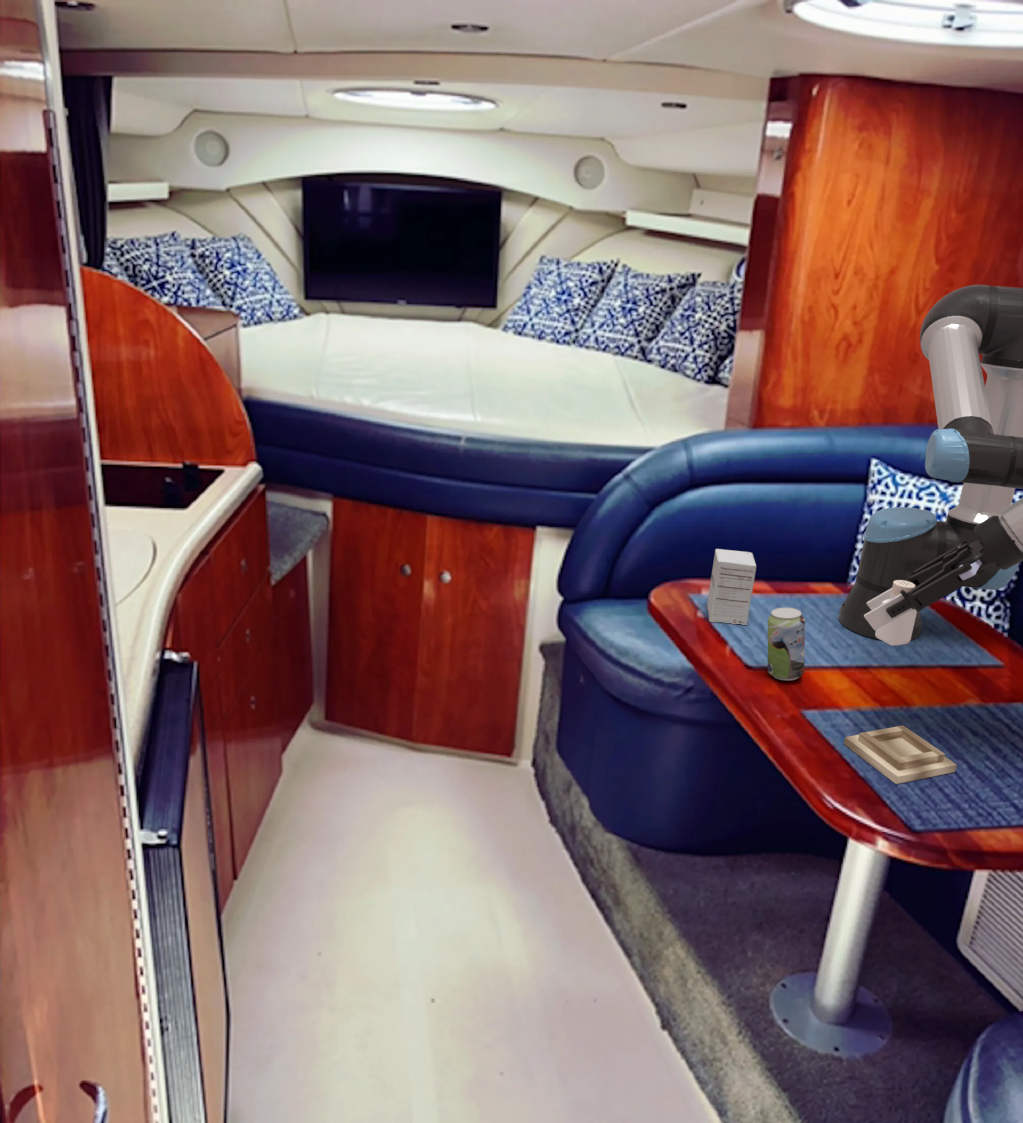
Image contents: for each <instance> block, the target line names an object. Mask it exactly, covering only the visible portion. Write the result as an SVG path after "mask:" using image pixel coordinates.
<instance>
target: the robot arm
mask: <svg viewBox="0 0 1023 1123" xmlns="http://www.w3.org/2000/svg"><path fill="white" fill-rule="evenodd" d="M919 342H920V350H921V351H922V354H923V356H924V357H925V358H926V359H927V360H928V362H929V367H930V368H929V369H930V376H931V382H932V384H931V385H932V392H933V398H934V405H935V413H936V419H937V420H936V421H937V426H938V427H937V429H935V430H934V431H933V432H932V433H931V435H930V437H929V438H928V442H927V445H926V451H925V462H924V468H925V472H926V474H927V475H928V476H929V477H931V478H933V479H938V480H944V481H949V482H951V483H963V485H962V488H961V494H960V497H959V501H958V504H957V505H956V506H955V507H953V508H951V509H950V510H948V512H947V515H946V520H945V521H940V520H938V519H937V515H936V514H935V513H934V512H932V511H930V510H926V509H920V508H917V507H907V506H905V507H904V506H903V507H902V506H898V507H897V506H896V507H888V508H883V509H880V510H877V511H875V512H873V514H871V516H870V517H869V520H868V522H867V526H866V529H865V531H864V534H863V544H862V548H861V553H860V558H859V563H858V567H857V573H856V577H855V581H854V583H853V586H852V588H851V589H850V591H849V592H848V594H847V596H846V598H845V601H843V602H842V604H841V606H840V608H839V613H838V621H839V623H840V624H841V625H842V626H844V627H845V628H847V629H848V630H850V631H852V632H854V633H856V634H858V635H861V636H864V637H868V638H871V639H875V640H879V641H881V640H880V639H878V638H877V637H876V636H875V632H876V630H877V629H878V628H880V627H882V626H884V625H886V624H887V623H889V622H891V621H893V620H894V619H896V618H898V617H900V616H902V615H903V614H905V613H907V612H909V611H911V610H912V609H913V610H914V609H915V610H916V611H917V614H916V618H915V623H914V627H913V631H912V636H911V640H910V641H912V640H915V639H917V638H918V637H919V636H920V634H921V629H922V625H923V624H922V622H923V621H922V618H921V611H922V610H924V609H925V608H928V607H929V606H930V605H932V604H935V603H936V602H938V601H940V600H942V599H943V598H945V597H946V596H948V595H950V594H952V593H954V592H956V591H958V590H959V589H961V588H963V587H964V588H971V589H973V590H991V591H992V590H993V591H995V590H996V591H997V590H999V589H1003V587H1005V586H1006V585H1007V584H1008V583H1009V582H1011V580H1012V578H1013V576H1014V575H1015V573H1016V572H1017V569H1018V567H1019V565H1020V563H1021V562H1023V497H1021V498H1020V499H1019V500H1016V501H1015V502H1014V503H1013V499H1014V495H1015V490H1016V489H1018V490H1019V489H1020V490H1023V287H1013V286H1009V287H1008V286H1001V285H1000V286H999V285H989V284H988V285H987V284H972V285H966V286H962V287H961V288H957V289H954V290H952V291H951V292H949V293H947V294H946V295H944V296H943V297H942V298H939V300H937V302H936V303H934V305H933V306H932V307H931V308H930V309H929V311H928V312H927V314H926V315H925V317H924V319H923V321H922V324H921V328H920V330H919ZM980 355H982V357H980ZM980 358H981V359H980ZM982 369H983V370H984V371H985V373H986V376H987V378H986V381H985V380H984V376H983V370H982ZM895 580H904V581H908V582H911V583H913V584H915V588H914V589H912V590H911V591H909V592H907V593H906V592H905V591H904V590H901V591H900V593H901V594H900V595H898V596H896V597H894V598H893V599H891V600H889V601H887V602H886V603H884V604H882V602H883V601H884V600H887V599H890V598H891V591H892V586H893V582H894V581H895ZM881 604H882V605H881Z"/></svg>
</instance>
